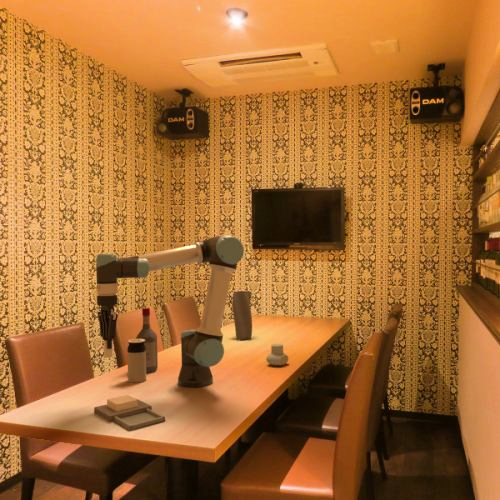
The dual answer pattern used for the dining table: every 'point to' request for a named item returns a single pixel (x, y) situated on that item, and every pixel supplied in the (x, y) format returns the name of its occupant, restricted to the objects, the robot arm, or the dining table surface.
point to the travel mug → (136, 360)
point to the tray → (140, 420)
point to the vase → (242, 314)
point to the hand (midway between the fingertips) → (108, 356)
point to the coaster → (122, 403)
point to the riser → (110, 413)
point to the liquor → (149, 342)
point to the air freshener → (277, 355)
